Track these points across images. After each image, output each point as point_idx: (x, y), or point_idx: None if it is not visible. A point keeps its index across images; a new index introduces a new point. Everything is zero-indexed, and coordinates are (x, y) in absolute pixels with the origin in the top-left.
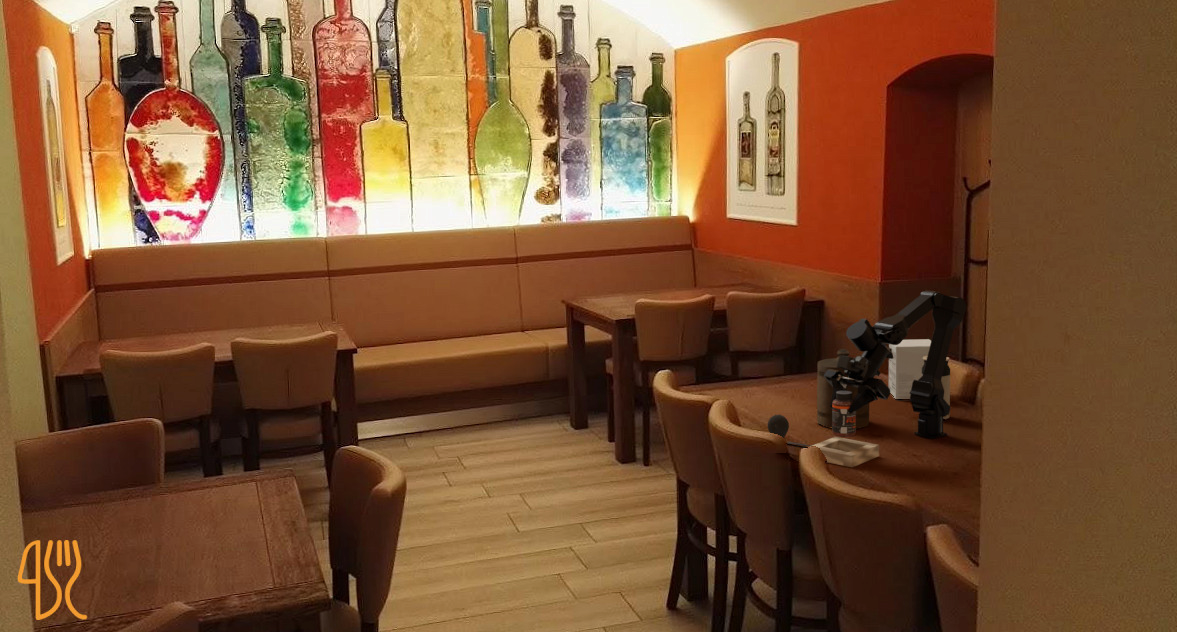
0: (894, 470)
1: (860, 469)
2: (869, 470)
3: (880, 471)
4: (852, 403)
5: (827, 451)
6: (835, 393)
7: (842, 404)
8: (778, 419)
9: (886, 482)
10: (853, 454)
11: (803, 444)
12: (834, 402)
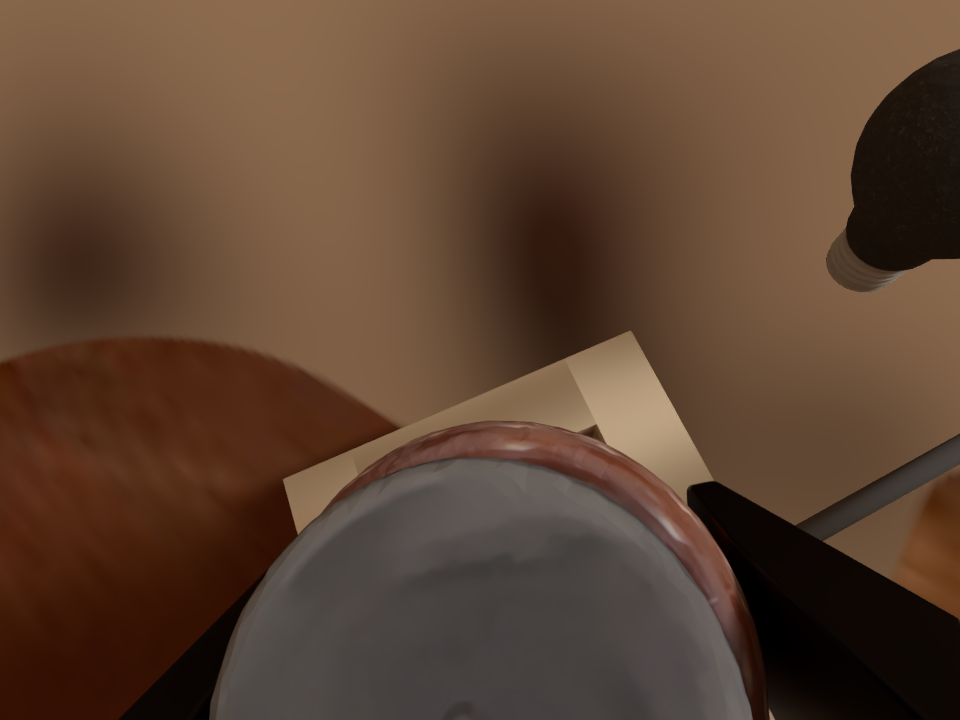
0: (115, 706)
1: (259, 513)
2: (212, 551)
3: (157, 602)
4: (196, 676)
5: (475, 398)
6: (908, 686)
7: (340, 494)
8: (949, 72)
9: (6, 490)
10: (301, 510)
11: (913, 472)
12: (519, 425)
